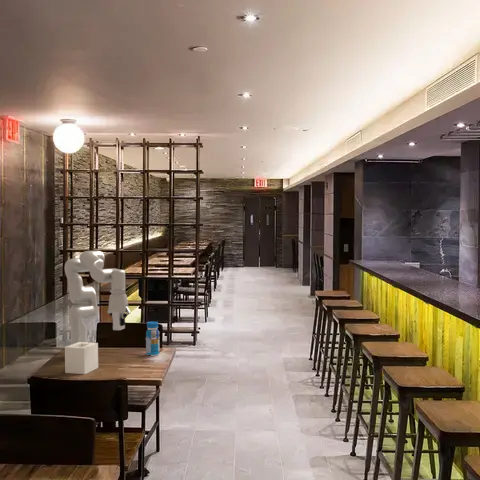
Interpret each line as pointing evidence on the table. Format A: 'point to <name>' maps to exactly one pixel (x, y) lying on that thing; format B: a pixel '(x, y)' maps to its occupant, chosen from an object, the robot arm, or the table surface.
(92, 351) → the white box with slot
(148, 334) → the beverage bottle
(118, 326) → the white rectangular block
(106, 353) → the table surface
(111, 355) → the table surface
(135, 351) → the table surface
